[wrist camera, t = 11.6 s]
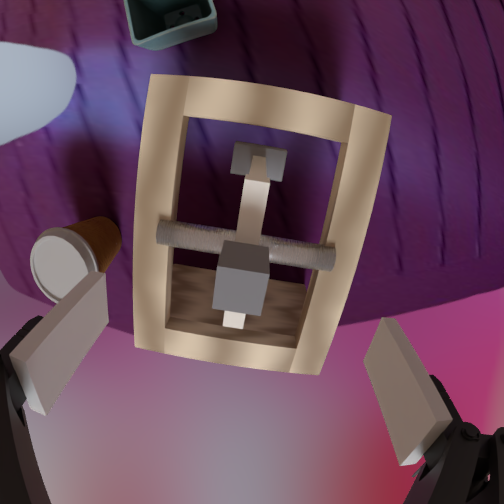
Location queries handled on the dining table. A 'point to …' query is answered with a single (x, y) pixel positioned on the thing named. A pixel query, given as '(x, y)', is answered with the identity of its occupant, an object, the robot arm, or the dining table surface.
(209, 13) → the flower pot
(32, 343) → the robot arm
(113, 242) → the disposable coffee cup
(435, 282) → the dining table surface
